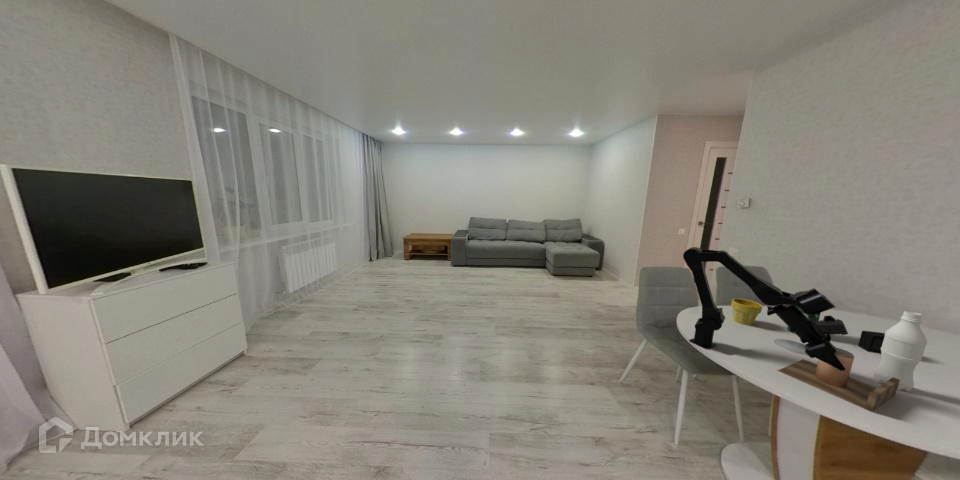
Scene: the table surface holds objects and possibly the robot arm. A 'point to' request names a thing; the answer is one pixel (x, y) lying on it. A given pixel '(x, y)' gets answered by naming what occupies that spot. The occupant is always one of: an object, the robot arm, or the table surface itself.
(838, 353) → the terracotta pot
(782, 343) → the ceramic saucer
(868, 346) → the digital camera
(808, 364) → the wooden bookend
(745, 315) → the plant pot
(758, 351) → the table surface
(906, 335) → the water bottle
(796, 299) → the robot arm
